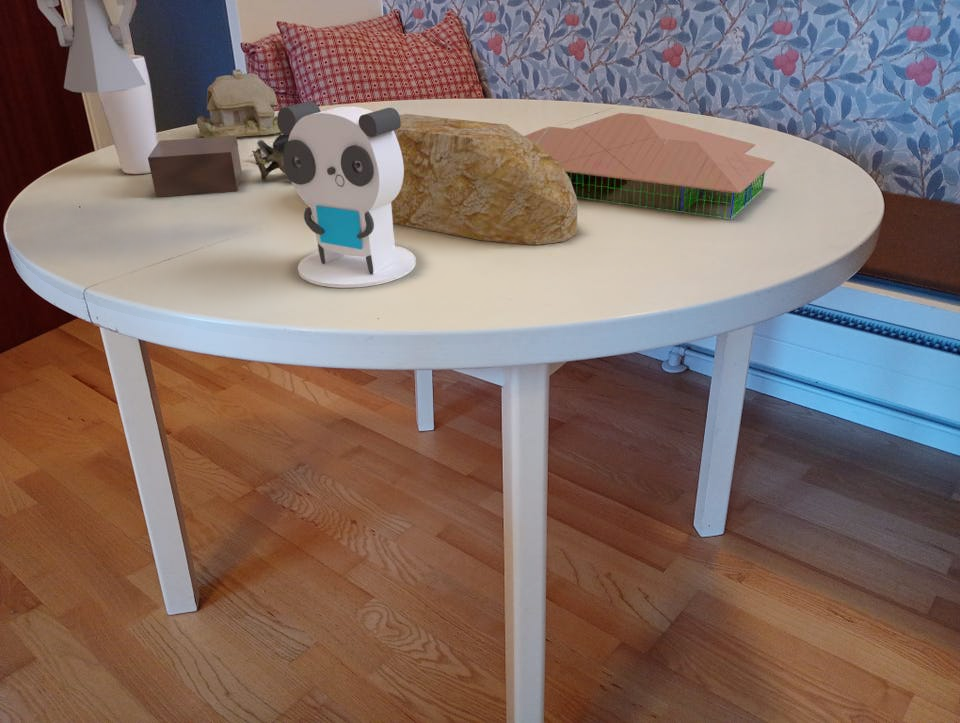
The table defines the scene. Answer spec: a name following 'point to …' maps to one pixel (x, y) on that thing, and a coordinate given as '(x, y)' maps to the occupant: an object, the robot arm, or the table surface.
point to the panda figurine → (347, 191)
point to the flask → (97, 53)
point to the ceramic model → (239, 107)
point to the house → (656, 157)
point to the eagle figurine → (271, 155)
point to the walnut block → (195, 166)
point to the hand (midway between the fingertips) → (96, 44)
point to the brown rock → (481, 183)
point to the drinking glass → (132, 122)
